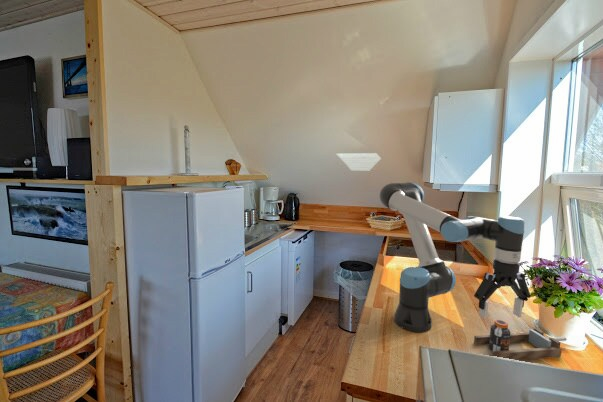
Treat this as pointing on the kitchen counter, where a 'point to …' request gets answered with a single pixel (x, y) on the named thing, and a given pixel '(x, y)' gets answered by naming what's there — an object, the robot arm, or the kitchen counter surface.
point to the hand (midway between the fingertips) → (499, 316)
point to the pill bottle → (499, 336)
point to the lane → (523, 353)
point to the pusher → (541, 339)
